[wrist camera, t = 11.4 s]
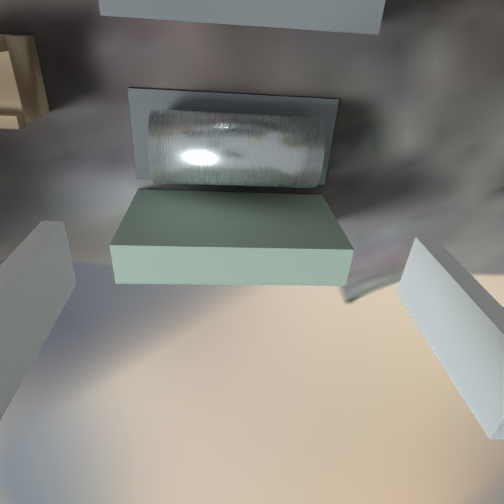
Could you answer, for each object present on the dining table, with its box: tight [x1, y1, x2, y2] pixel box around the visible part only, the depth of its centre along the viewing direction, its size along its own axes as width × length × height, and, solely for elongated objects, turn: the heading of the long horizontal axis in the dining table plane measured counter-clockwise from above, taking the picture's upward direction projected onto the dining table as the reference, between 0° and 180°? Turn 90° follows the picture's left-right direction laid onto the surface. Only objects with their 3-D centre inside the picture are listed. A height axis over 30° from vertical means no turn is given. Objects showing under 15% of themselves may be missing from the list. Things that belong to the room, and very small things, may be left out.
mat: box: [127, 88, 339, 185], centre depth 30 cm, size 7×16×1 cm, turn 86°
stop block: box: [110, 189, 354, 286], centre depth 30 cm, size 3×16×10 cm, turn 86°
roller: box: [148, 109, 325, 188], centre depth 28 cm, size 5×12×5 cm, turn 87°
